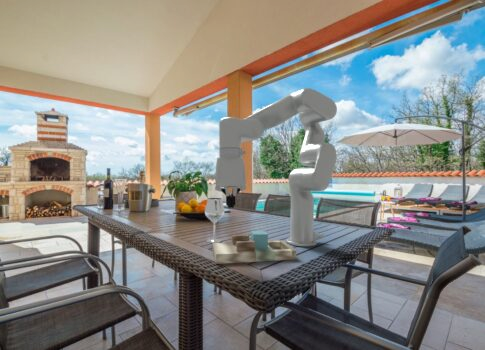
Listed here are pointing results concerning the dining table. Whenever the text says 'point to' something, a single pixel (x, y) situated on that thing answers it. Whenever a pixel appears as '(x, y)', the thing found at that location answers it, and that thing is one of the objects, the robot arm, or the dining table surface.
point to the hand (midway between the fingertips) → (230, 207)
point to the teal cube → (260, 239)
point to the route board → (251, 251)
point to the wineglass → (214, 214)
